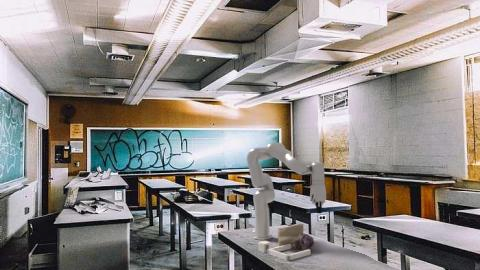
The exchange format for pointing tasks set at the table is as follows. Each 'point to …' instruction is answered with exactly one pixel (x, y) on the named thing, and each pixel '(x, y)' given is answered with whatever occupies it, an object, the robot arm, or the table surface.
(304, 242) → the rock
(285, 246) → the corral
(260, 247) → the letter cube
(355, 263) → the table surface
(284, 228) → the shelf
